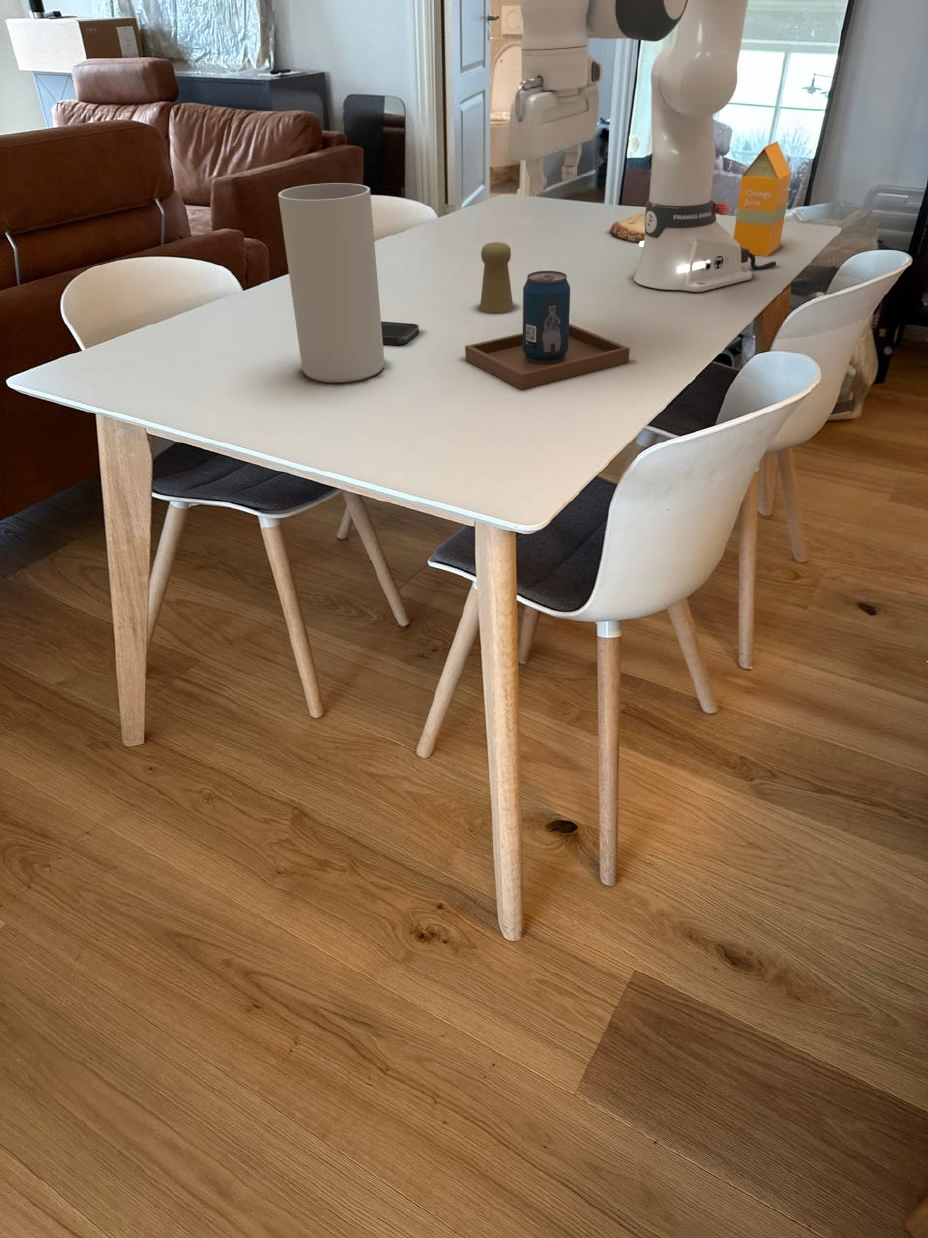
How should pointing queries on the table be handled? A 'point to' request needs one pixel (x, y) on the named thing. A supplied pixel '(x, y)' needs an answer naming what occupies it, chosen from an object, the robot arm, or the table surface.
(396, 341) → the phone
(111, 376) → the table surface
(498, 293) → the olive pawn
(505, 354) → the tray
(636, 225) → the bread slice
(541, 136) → the robot arm
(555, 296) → the soda can
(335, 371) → the cylinder vase
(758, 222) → the orange juice
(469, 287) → the table surface
